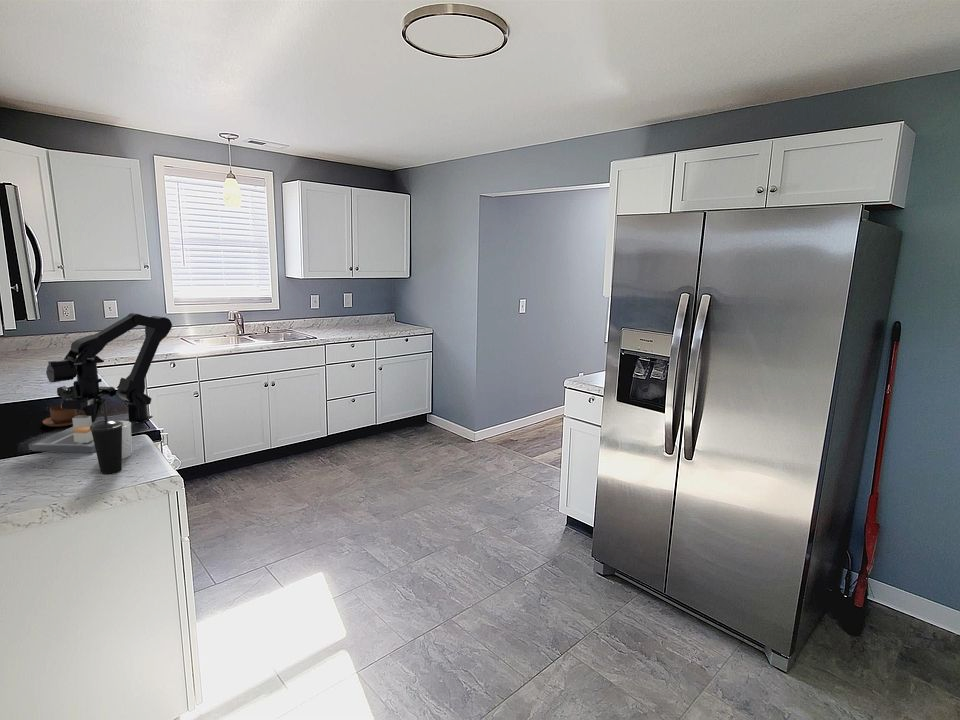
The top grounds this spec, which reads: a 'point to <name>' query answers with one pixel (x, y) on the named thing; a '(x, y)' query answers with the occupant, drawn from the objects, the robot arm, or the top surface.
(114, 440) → the drinking cup
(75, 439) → the orange fader
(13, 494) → the top surface
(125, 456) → the white cup
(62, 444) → the grey square board
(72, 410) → the cup and saucer
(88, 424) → the block
